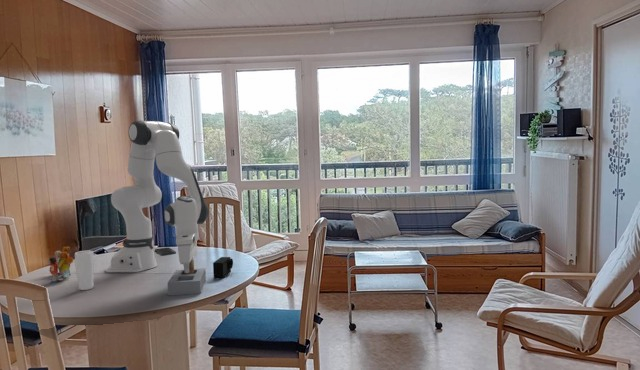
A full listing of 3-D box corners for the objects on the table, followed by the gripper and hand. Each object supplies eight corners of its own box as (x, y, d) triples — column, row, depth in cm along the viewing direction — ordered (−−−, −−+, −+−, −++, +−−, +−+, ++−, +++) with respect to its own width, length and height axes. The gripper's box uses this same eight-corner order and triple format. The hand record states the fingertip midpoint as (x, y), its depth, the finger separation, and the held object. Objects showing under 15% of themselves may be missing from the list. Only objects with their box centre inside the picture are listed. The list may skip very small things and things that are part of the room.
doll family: (57, 272, 206) (55, 244, 205) (80, 270, 209) (78, 242, 208) (48, 285, 186) (46, 254, 185) (74, 282, 190) (72, 252, 189)
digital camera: (225, 278, 190) (225, 262, 190) (213, 278, 191) (212, 262, 190) (233, 272, 201) (233, 256, 200) (221, 271, 201) (221, 256, 201)
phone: (168, 247, 251) (176, 252, 239) (168, 249, 251) (176, 254, 239) (154, 249, 246) (161, 254, 234) (154, 251, 247) (161, 256, 234)
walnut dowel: (183, 281, 181) (183, 262, 181) (185, 278, 185) (184, 259, 185) (193, 281, 182) (193, 261, 181) (195, 278, 186) (194, 259, 185)
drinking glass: (83, 292, 176) (80, 254, 175) (73, 289, 180) (70, 253, 178) (99, 287, 182) (96, 251, 181) (89, 285, 185) (87, 249, 184)
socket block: (168, 295, 170) (167, 282, 169) (176, 281, 188) (176, 269, 187) (200, 293, 171) (199, 280, 171) (205, 279, 189) (205, 268, 189)
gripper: (183, 231, 192) (185, 263, 193) (174, 241, 172) (176, 276, 173) (198, 231, 193) (200, 262, 194) (191, 240, 173) (193, 275, 174)
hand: (189, 269), depth 183 cm, fingers open, 8 cm apart
